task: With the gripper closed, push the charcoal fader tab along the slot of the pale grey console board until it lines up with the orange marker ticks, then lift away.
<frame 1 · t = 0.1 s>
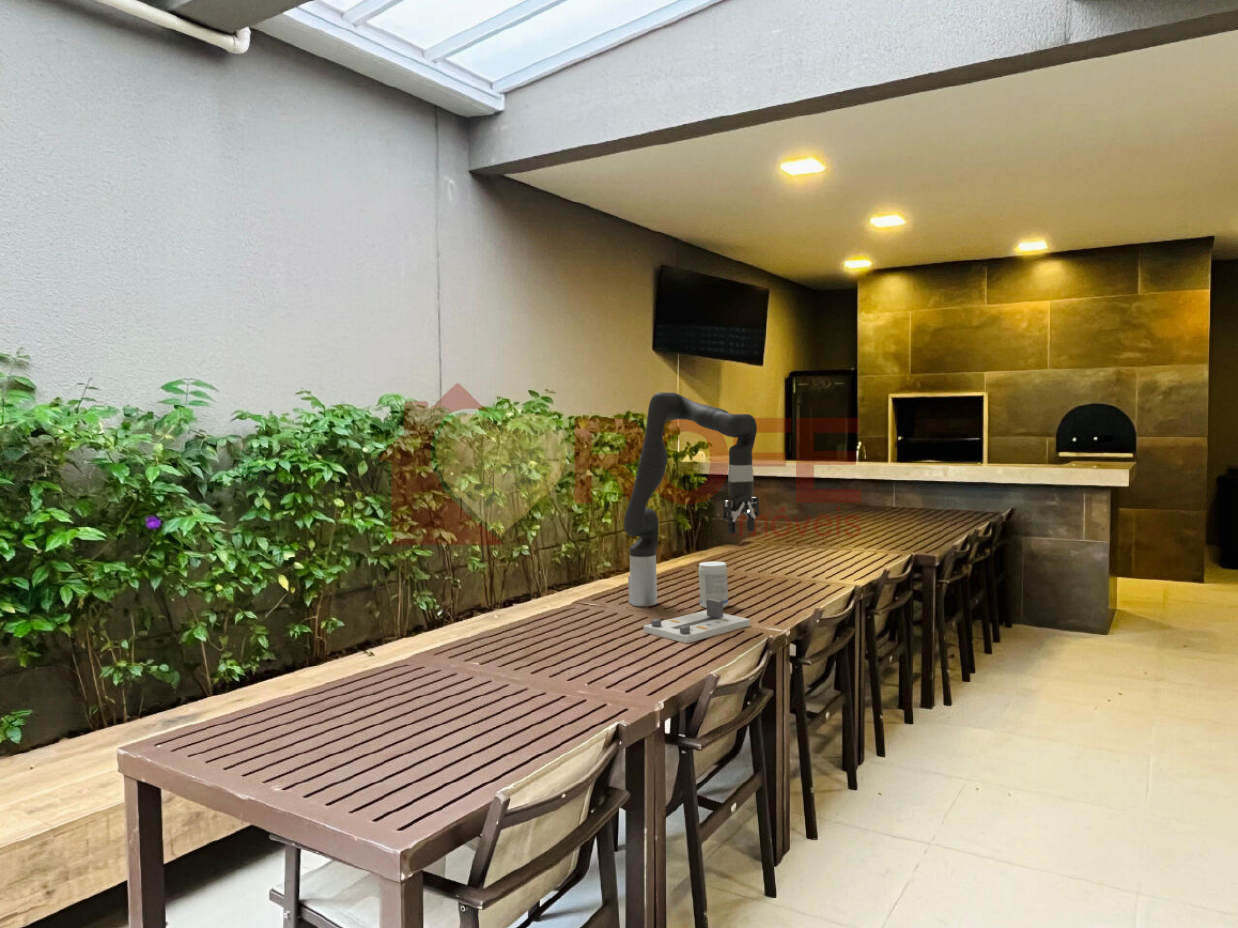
hand: (741, 532, 252), 29 cm above the table, fingers open, 8 cm apart
fader tab: (714, 608, 256), point 5 cm above the table, slide at 0.0 cm
console board: (697, 628, 251), on the table
supplement tub: (713, 606, 281), on the table
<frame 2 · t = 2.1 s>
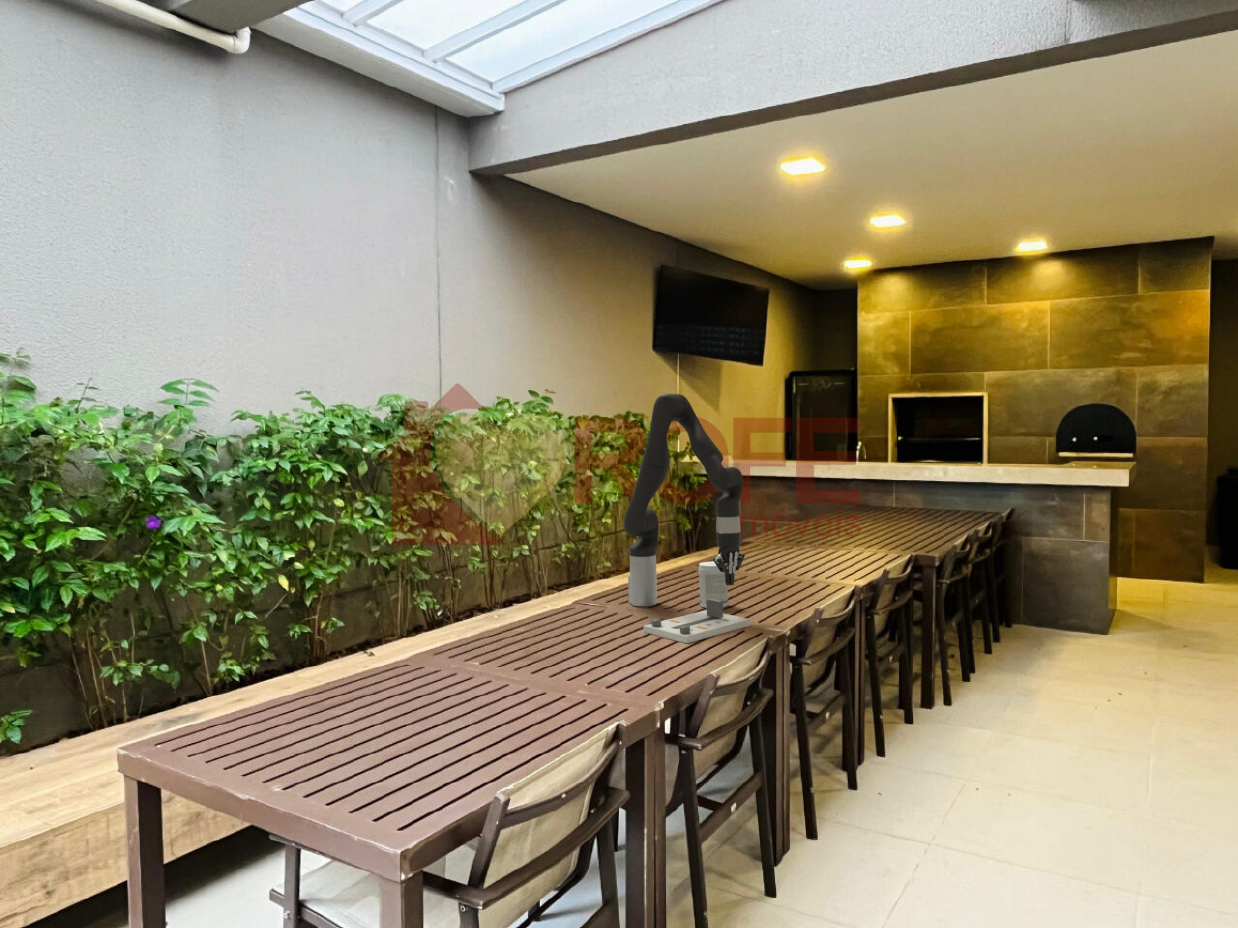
hand: (729, 584, 261), 11 cm above the table, fingers closed
nothing on the table moved.
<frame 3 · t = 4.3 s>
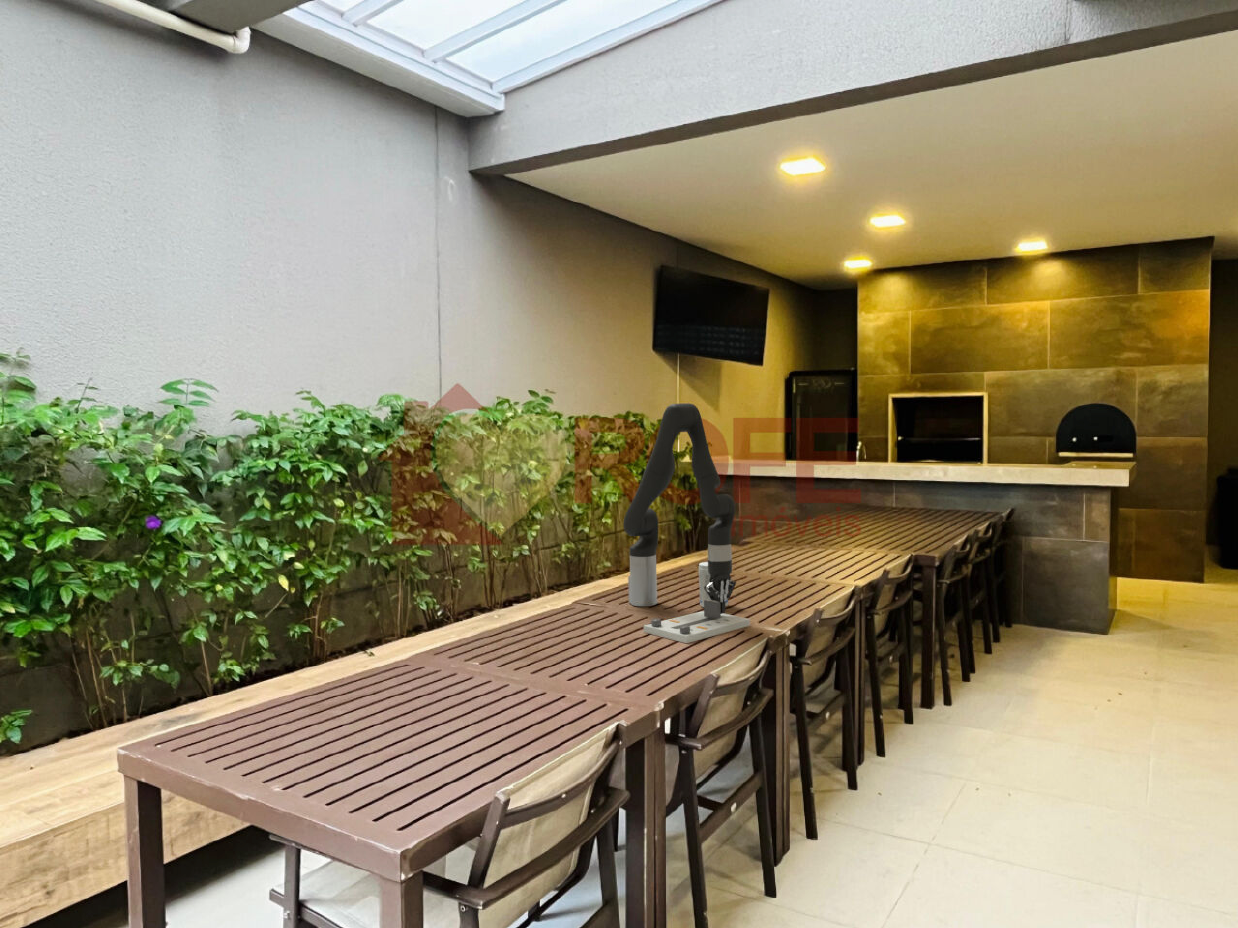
hand: (720, 613, 258), 3 cm above the table, fingers closed
fader tab: (712, 608, 256), point 5 cm above the table, slide at 1.2 cm, touching gripper
everything else where it was.
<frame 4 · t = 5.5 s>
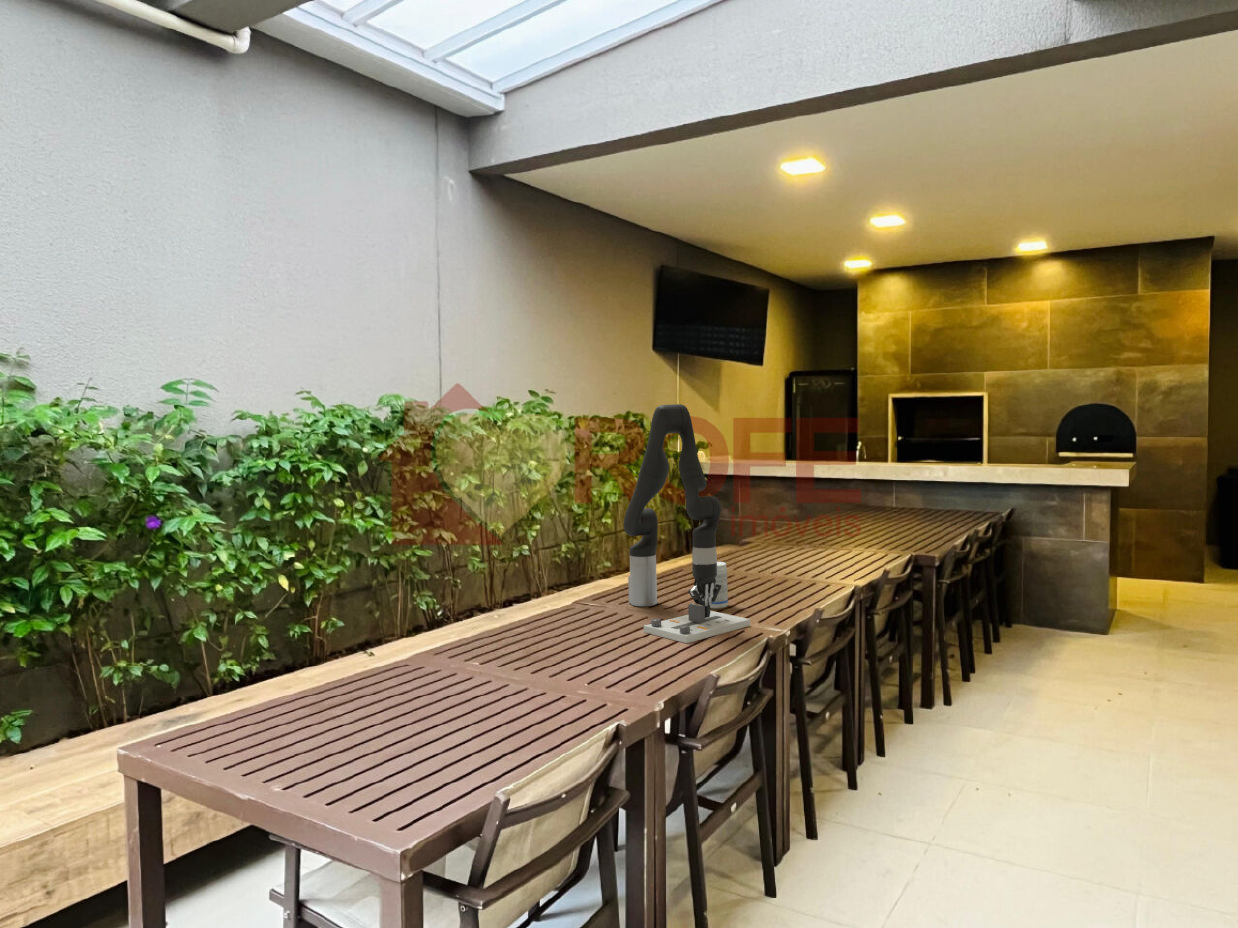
hand: (705, 616, 254), 3 cm above the table, fingers closed
fader tab: (696, 612, 251), point 5 cm above the table, slide at 8.2 cm, touching gripper
everything else where it was.
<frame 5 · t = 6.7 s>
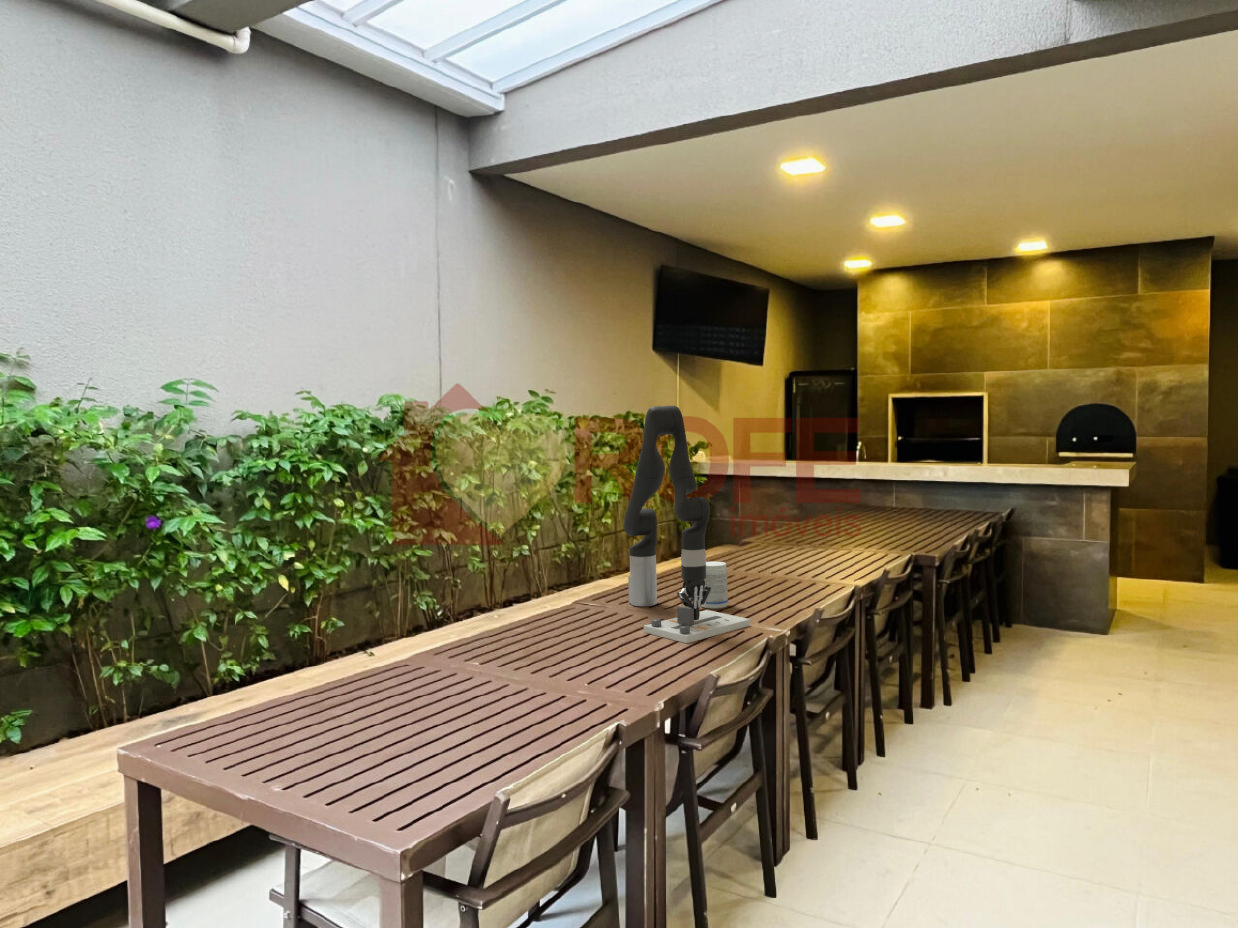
hand: (694, 619, 251), 3 cm above the table, fingers closed
fader tab: (685, 615, 248), point 5 cm above the table, slide at 13.0 cm, touching gripper
everything else where it was.
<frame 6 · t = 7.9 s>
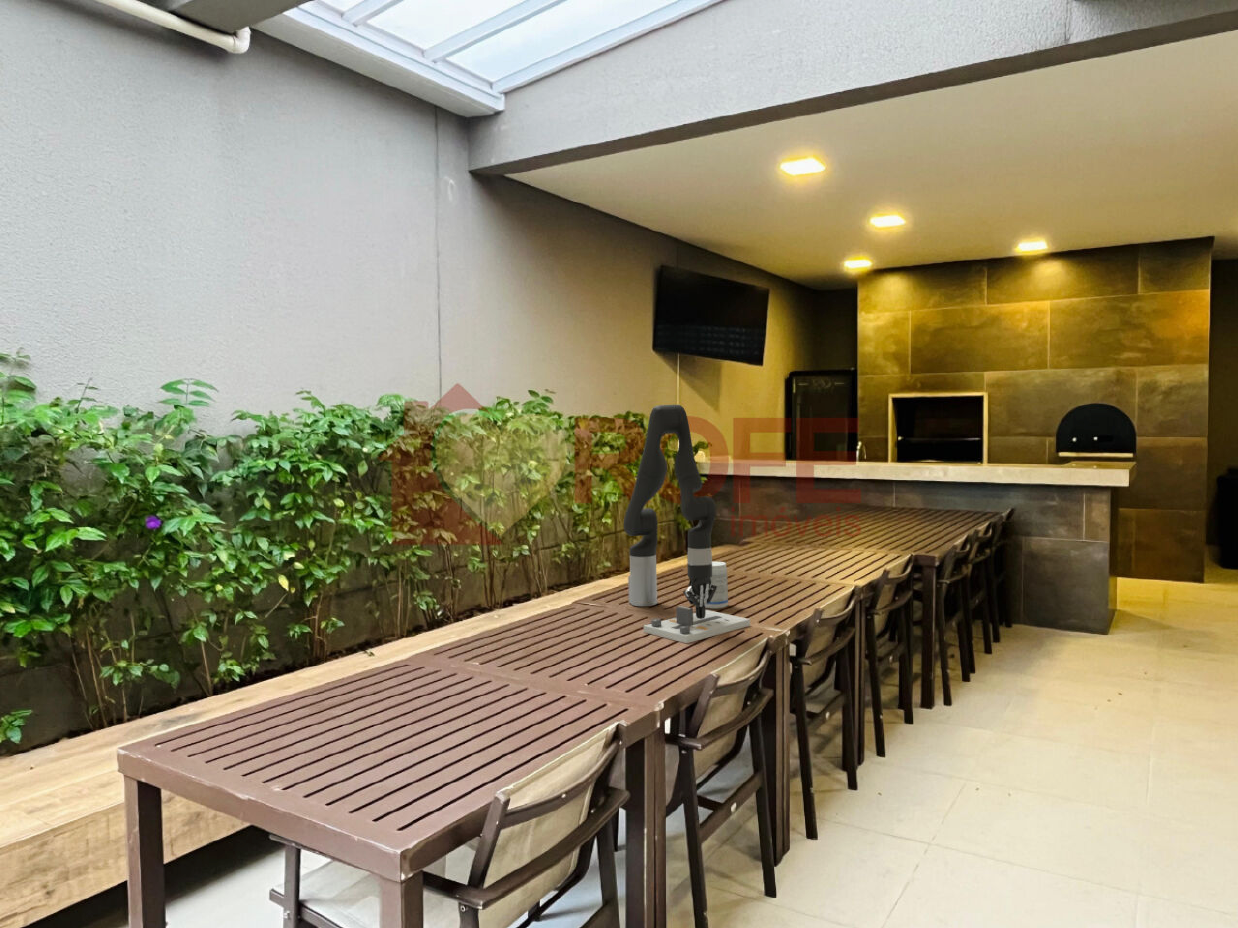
hand: (700, 617, 252), 3 cm above the table, fingers closed
fader tab: (684, 615, 248), point 5 cm above the table, slide at 13.4 cm
everything else where it was.
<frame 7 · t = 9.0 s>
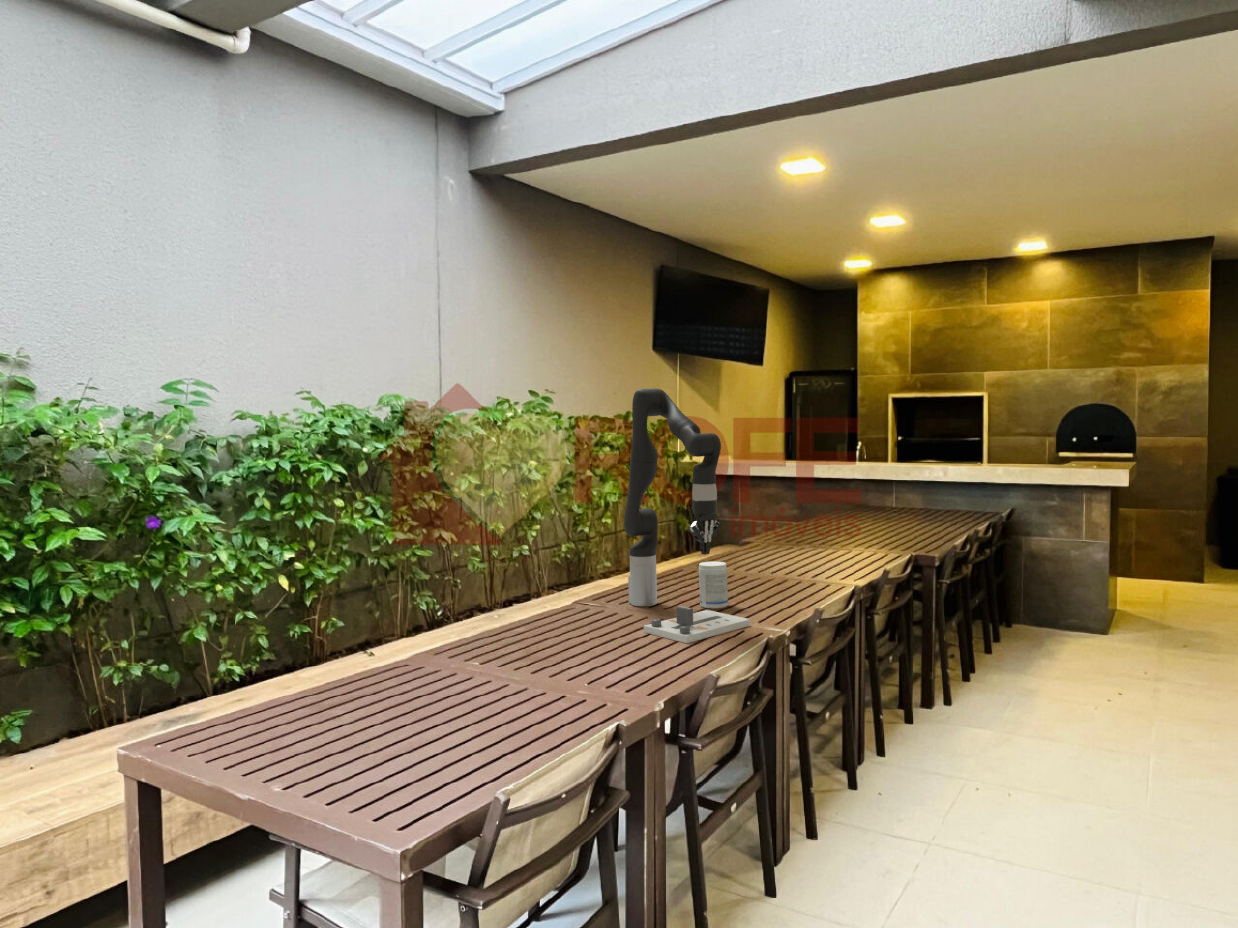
hand: (705, 554, 254), 22 cm above the table, fingers closed
nothing on the table moved.
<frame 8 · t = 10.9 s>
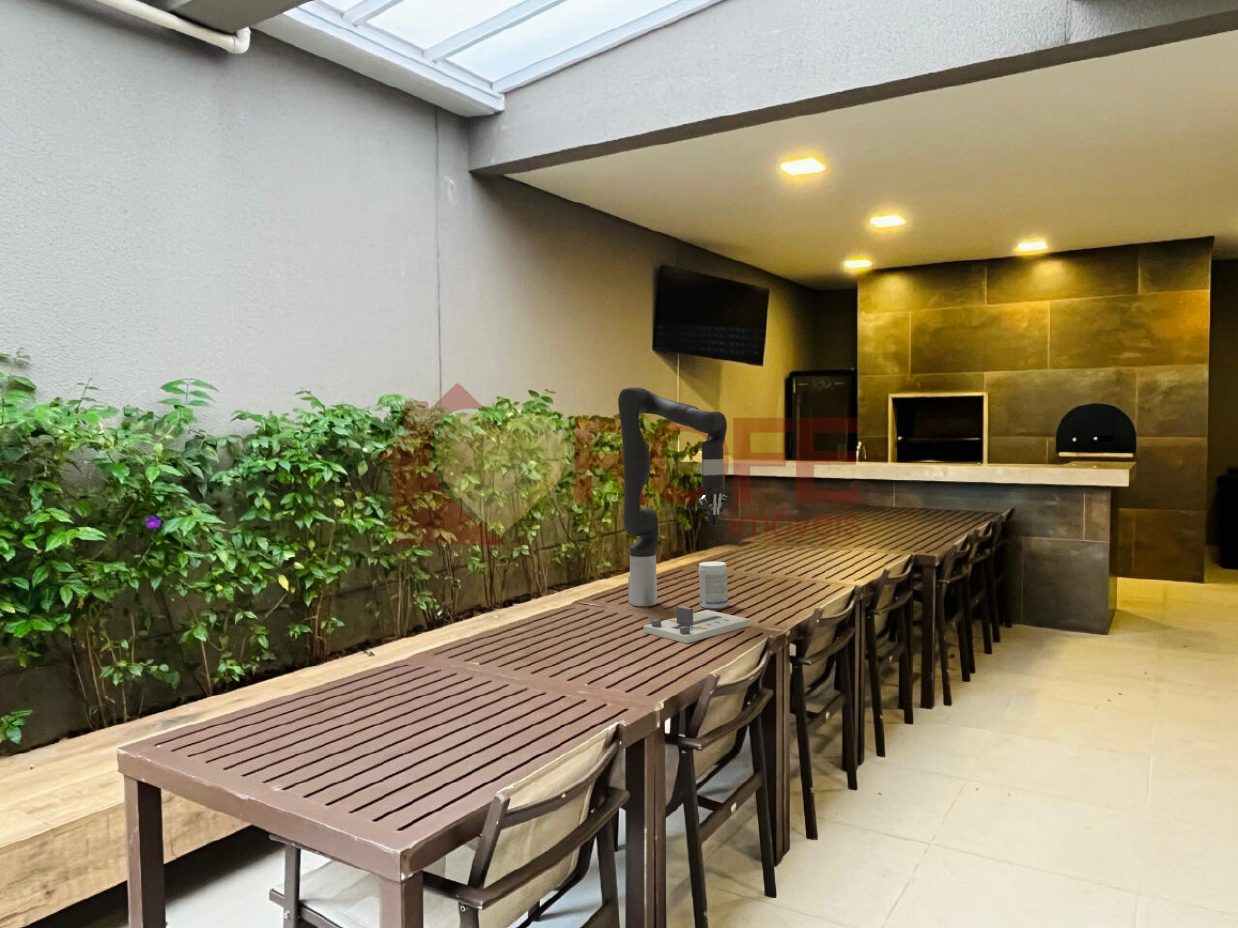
hand: (713, 525, 268), 29 cm above the table, fingers closed
nothing on the table moved.
at the end: fader tab slide at 13.4 cm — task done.
